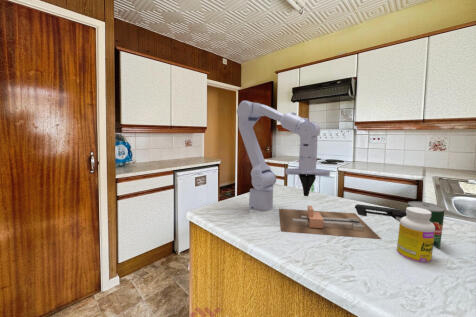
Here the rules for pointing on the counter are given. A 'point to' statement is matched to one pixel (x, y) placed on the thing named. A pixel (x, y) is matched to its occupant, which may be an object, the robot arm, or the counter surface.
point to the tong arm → (336, 219)
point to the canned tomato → (433, 218)
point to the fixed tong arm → (331, 224)
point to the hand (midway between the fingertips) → (305, 195)
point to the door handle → (392, 212)
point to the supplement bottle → (416, 235)
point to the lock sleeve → (314, 218)
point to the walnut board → (290, 214)
